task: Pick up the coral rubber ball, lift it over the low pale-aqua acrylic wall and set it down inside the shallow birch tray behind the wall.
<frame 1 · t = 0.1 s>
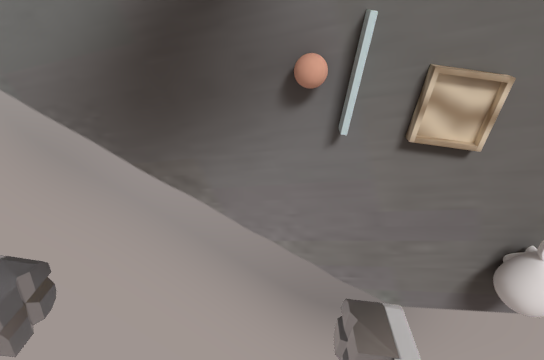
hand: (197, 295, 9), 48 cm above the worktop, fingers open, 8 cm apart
birch tray: (453, 107, 54), on the worktop
coral ball: (310, 71, 50), point 2 cm above the worktop
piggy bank: (524, 256, 69), on the worktop
aqua wall: (354, 74, 52), on the worktop
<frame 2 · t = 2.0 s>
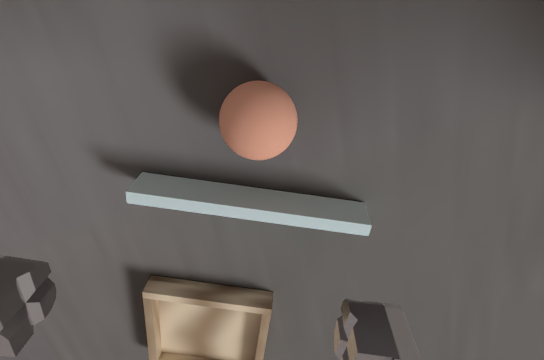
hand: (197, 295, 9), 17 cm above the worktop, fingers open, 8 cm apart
birch tray: (210, 323, 36), on the worktop
coral ball: (258, 121, 22), point 2 cm above the worktop
aqua wall: (252, 192, 27), on the worktop
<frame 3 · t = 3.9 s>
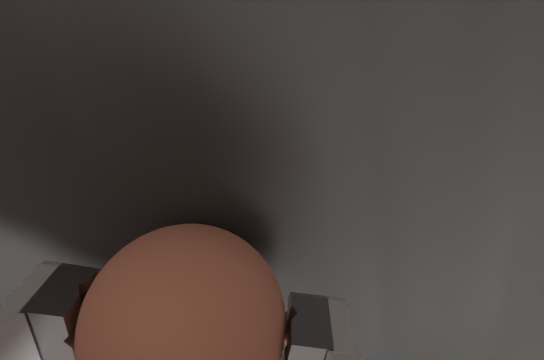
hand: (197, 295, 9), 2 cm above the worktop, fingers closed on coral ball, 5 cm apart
coral ball: (187, 322, 9), point 2 cm above the worktop, touching gripper
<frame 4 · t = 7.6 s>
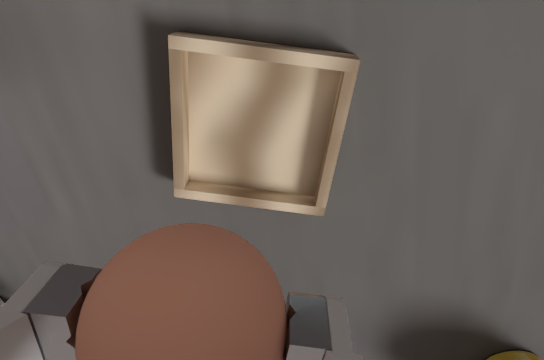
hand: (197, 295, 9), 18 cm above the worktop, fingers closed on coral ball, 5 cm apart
birch tray: (258, 126, 26), on the worktop
coral ball: (188, 322, 9), point 19 cm above the worktop, touching gripper
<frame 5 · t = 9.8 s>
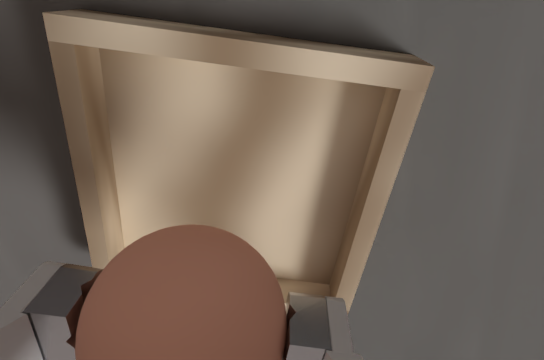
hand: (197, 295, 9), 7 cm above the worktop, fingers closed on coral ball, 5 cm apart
birch tray: (236, 177, 15), on the worktop
coral ball: (188, 323, 9), point 7 cm above the worktop, touching gripper
when the fingers open (4 cm above the worktop, at t = 11.3 s): coral ball drops 1 cm, resting on birch tray.
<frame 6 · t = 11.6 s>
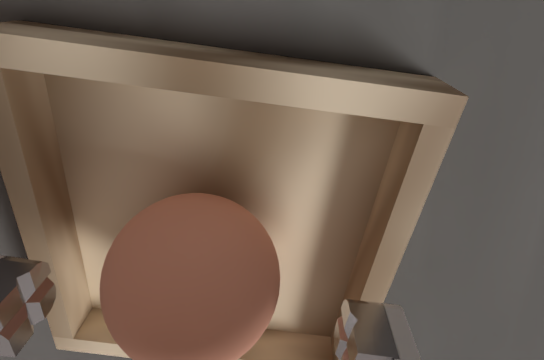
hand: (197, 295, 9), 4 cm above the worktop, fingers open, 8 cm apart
birch tray: (220, 217, 13), on the worktop
coral ball: (195, 278, 10), point 3 cm above the worktop, tilted 6°, touching birch tray
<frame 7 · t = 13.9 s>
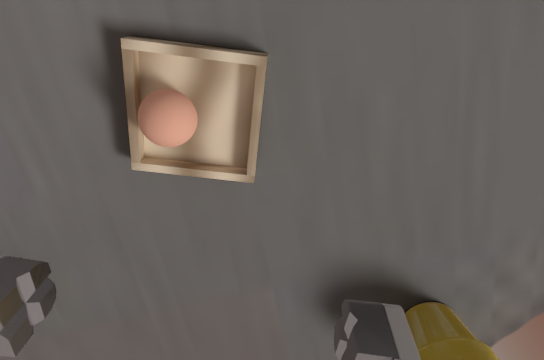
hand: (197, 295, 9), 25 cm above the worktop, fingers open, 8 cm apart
birch tray: (198, 111, 32), on the worktop
coral ball: (168, 118, 29), point 3 cm above the worktop, tilted 48°, touching birch tray
plant pot: (425, 317, 45), on the worktop
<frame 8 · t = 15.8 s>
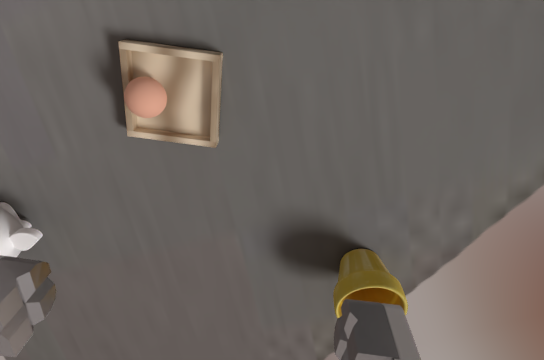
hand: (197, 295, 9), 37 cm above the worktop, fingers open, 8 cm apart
birch tray: (175, 93, 44), on the worktop
coral ball: (146, 97, 42), point 3 cm above the worktop, tilted 65°, touching birch tray
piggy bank: (15, 222, 57), on the worktop
plant pot: (359, 262, 57), on the worktop
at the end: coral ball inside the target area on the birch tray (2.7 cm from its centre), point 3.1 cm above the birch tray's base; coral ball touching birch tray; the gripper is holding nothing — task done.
